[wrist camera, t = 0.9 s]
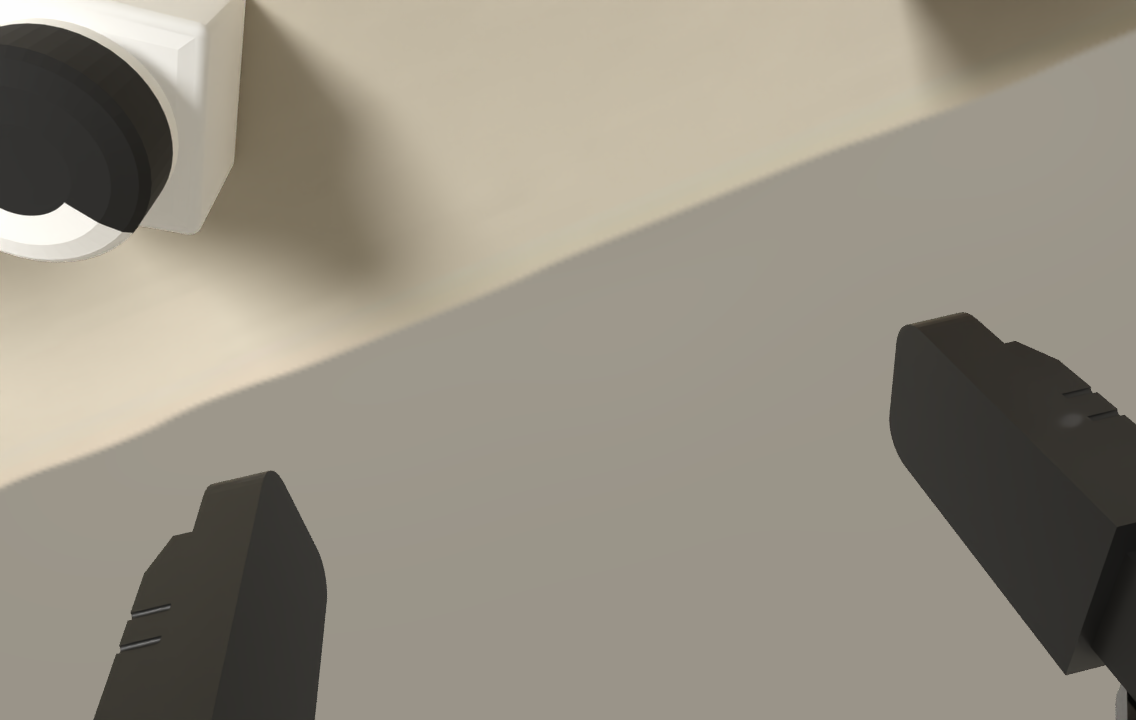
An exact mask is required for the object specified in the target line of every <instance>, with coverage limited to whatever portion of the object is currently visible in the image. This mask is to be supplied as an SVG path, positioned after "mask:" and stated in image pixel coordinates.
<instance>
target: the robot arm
mask: <svg viewBox="0 0 1136 720" xmlns="http://www.w3.org/2000/svg"><path fill="white" fill-rule="evenodd" d="M889 421H890V431H891V436H892V440H893V443H894V446H895V448H896V451H897V453H898V455H899V457H900V459H901V461H902V462H903V464H904V465H905V467H906V468H907V469H908V471H909V472H910V473H911V474H912V476H913V477H914V478H915V480H916V481H917V482H918V484H919V485H920V486H921V488H922V489H923V490H924V491H925V493H926V494H927V495H928V497H929V498H930V499H931V501H932V502H933V503H934V504H935V505H936V507H937V508H938V510H939V511H940V512H941V514H942V515H943V516H944V517H945V519H946V520H947V521H948V522H949V524H950V525H951V527H952V528H953V529H954V530H955V532H956V533H957V534H958V535H959V537H960V538H961V540H962V541H963V542H964V543H965V545H966V546H967V547H968V549H969V550H970V551H971V553H972V554H973V555H974V556H975V558H976V559H977V560H978V562H979V563H980V564H981V565H982V567H983V568H984V570H985V571H986V572H987V573H988V575H989V576H990V577H991V578H992V580H993V581H994V582H995V584H996V585H997V586H998V588H999V589H1000V590H1001V592H1002V593H1003V594H1004V596H1005V597H1006V598H1007V600H1008V601H1009V602H1010V603H1011V605H1012V606H1013V607H1014V609H1015V610H1016V611H1017V613H1018V614H1019V615H1020V616H1021V618H1022V619H1023V620H1024V622H1025V623H1026V624H1027V625H1028V627H1029V628H1030V629H1031V631H1032V632H1033V633H1034V635H1035V636H1036V637H1037V639H1038V640H1039V641H1040V642H1041V644H1042V645H1043V646H1044V648H1045V649H1046V650H1047V651H1048V653H1049V654H1050V655H1051V657H1052V658H1053V659H1054V661H1055V662H1056V663H1057V665H1058V666H1059V667H1060V668H1061V670H1062V671H1063V672H1064V674H1065V675H1069V674H1073V673H1076V672H1080V671H1085V670H1088V669H1092V668H1096V667H1100V666H1104V665H1106V666H1107V667H1108V668H1109V670H1110V671H1111V672H1112V673H1113V675H1114V676H1115V677H1116V678H1117V679H1118V681H1119V682H1120V683H1121V685H1120V688H1119V690H1118V693H1117V696H1116V720H1136V424H1135V423H1133V422H1132V421H1131V420H1130V419H1129V418H1127V417H1126V416H1125V415H1122V416H1120V415H1119V414H1118V412H1117V408H1116V407H1114V406H1113V405H1112V404H1111V403H1109V402H1108V401H1107V400H1106V399H1105V398H1103V397H1102V396H1101V395H1100V394H1099V393H1097V392H1096V393H1092V391H1091V387H1090V386H1089V385H1088V384H1087V383H1085V382H1084V381H1083V380H1082V379H1081V378H1079V377H1078V376H1077V375H1076V374H1075V373H1073V372H1072V371H1071V370H1070V369H1069V368H1067V367H1066V366H1065V365H1064V364H1063V363H1061V362H1060V361H1059V360H1057V359H1055V358H1053V357H1050V356H1048V355H1046V354H1044V353H1041V352H1039V351H1037V350H1035V349H1032V348H1030V347H1028V346H1026V345H1023V344H1021V343H1019V342H1016V341H1013V342H1009V343H1005V344H1004V343H1003V342H1002V341H1001V340H1000V339H999V338H998V337H996V336H995V335H994V334H993V333H992V332H991V331H990V330H988V329H987V328H986V327H985V326H984V325H983V324H982V323H980V322H979V321H978V320H977V319H976V318H974V317H973V316H972V315H970V314H968V313H964V312H962V313H956V314H952V315H948V316H943V317H939V318H935V319H931V320H926V321H922V322H917V323H913V324H909V325H905V326H904V327H902V328H901V330H900V332H899V334H898V337H897V343H896V353H895V364H894V375H893V385H892V395H891V406H890V417H889ZM326 603H327V586H326V578H325V572H324V568H323V564H322V560H321V557H320V554H319V552H318V550H317V548H316V546H315V544H314V542H313V540H312V538H311V536H310V534H309V532H308V530H307V528H306V526H305V524H304V522H303V520H302V518H301V516H300V514H299V512H298V510H297V508H296V506H295V504H294V502H293V500H292V498H291V496H290V494H289V492H288V490H287V489H286V486H285V484H284V483H283V481H282V479H281V478H280V476H279V475H278V474H277V473H276V472H274V471H266V472H262V473H258V474H253V475H249V476H245V477H241V478H236V479H232V480H228V481H223V482H219V483H215V484H212V485H210V486H208V487H207V490H206V491H205V493H204V496H203V499H202V502H201V506H200V509H199V512H198V516H197V519H196V522H195V526H194V529H193V532H189V533H185V534H180V535H176V536H173V537H172V538H171V540H170V541H169V542H168V543H167V545H166V546H165V547H164V549H163V550H162V551H161V553H160V554H159V555H158V556H157V558H156V559H155V560H154V562H153V563H152V564H151V565H150V567H149V568H148V570H147V571H146V572H145V573H144V576H143V579H142V582H141V585H140V587H139V590H138V593H137V596H136V599H135V602H134V605H133V607H132V610H131V614H132V620H129V621H128V622H127V625H126V628H125V630H124V633H123V636H122V639H121V642H120V645H119V646H120V649H121V652H120V653H119V654H116V657H115V659H114V662H113V665H112V668H111V671H110V674H109V677H108V680H107V683H106V685H105V688H104V691H103V694H102V697H101V700H100V703H99V706H98V708H97V711H96V714H95V717H94V720H315V712H316V702H317V691H318V681H319V672H320V662H321V653H322V642H323V633H324V623H325V613H326Z"/></svg>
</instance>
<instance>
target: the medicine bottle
mask: <svg viewBox="0 0 1136 720" xmlns="http://www.w3.org/2000/svg"><path fill="white" fill-rule="evenodd" d="M245 5H246V0H0V251H1V252H4V253H7V254H10V255H14V256H17V257H20V258H25V259H30V260H35V261H43V262H73V261H80V260H86V259H89V258H93V257H96V256H99V255H102V254H104V253H106V252H108V251H110V250H113V249H114V248H116V247H117V246H119V245H120V244H121V243H123V242H124V241H125V240H126V239H127V238H128V237H130V236H131V235H132V234H133V233H134V231H135V230H136V229H137V227H138V226H141V227H147V228H153V229H158V230H164V231H170V232H176V233H181V234H187V235H192V234H195V233H197V232H198V231H200V229H201V227H202V225H203V223H204V221H205V219H206V217H207V215H208V213H209V211H210V209H211V208H212V206H213V204H214V202H215V200H216V198H217V196H218V194H219V192H220V190H221V188H222V186H223V184H224V182H225V180H226V178H227V176H228V174H229V172H230V170H231V168H232V167H233V164H234V157H235V143H236V130H237V116H238V102H239V88H240V74H241V60H242V46H243V33H244V19H245Z"/></svg>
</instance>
